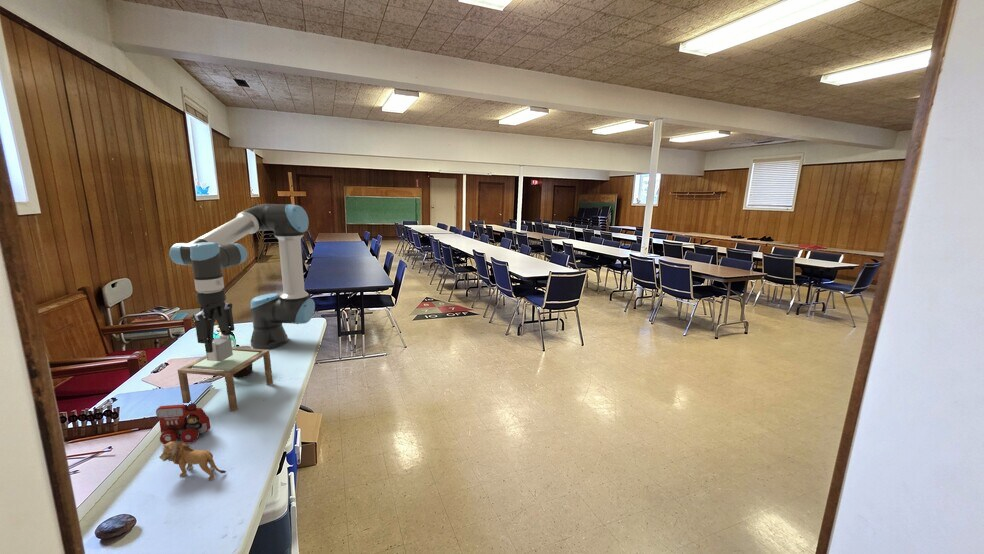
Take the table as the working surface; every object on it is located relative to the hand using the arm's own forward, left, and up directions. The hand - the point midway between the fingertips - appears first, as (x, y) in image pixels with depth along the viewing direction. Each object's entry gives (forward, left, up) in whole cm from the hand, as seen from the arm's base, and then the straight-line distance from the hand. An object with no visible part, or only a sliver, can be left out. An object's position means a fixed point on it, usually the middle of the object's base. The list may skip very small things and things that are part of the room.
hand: (220, 356), depth 128 cm
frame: (-2, 0, -16) cm, 16 cm away
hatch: (-3, 0, -3) cm, 4 cm away
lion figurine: (+34, +20, -16) cm, 42 cm away
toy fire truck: (+21, +5, -16) cm, 27 cm away
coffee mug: (-18, -7, -16) cm, 25 cm away
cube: (0, 0, 0) cm, 0 cm away
